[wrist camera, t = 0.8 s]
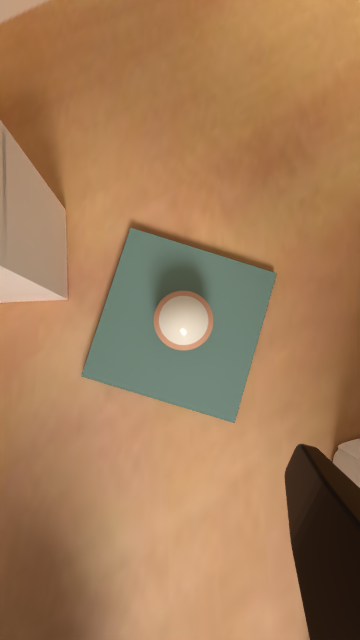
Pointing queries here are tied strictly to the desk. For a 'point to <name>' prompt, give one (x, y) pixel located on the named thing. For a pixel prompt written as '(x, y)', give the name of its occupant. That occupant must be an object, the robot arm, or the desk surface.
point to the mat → (157, 358)
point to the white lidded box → (29, 230)
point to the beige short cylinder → (183, 320)
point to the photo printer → (349, 459)
